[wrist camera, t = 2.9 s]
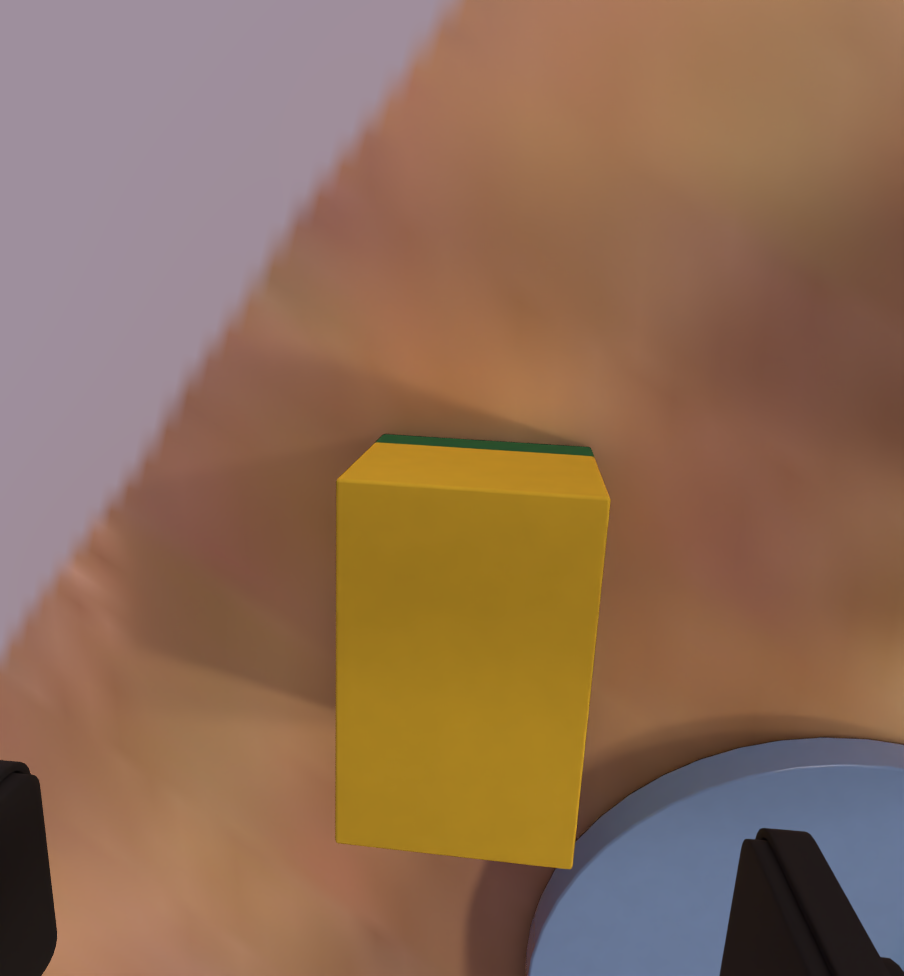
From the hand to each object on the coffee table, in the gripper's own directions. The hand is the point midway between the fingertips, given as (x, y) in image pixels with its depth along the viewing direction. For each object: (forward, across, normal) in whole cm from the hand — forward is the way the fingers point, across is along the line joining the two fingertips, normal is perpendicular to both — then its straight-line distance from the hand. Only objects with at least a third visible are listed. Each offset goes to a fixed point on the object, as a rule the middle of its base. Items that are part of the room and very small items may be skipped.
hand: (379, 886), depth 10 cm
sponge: (+9, -1, 0) cm, 9 cm away
